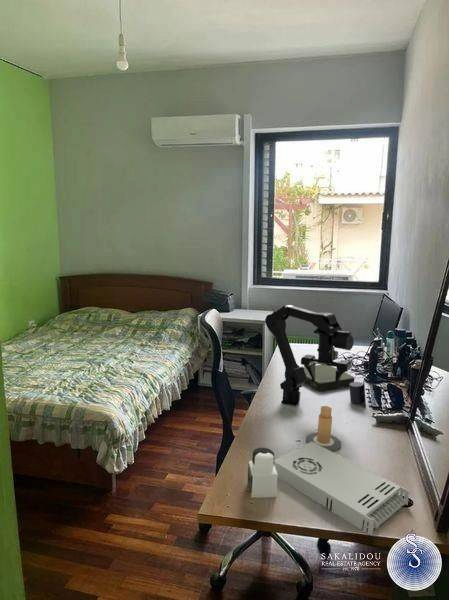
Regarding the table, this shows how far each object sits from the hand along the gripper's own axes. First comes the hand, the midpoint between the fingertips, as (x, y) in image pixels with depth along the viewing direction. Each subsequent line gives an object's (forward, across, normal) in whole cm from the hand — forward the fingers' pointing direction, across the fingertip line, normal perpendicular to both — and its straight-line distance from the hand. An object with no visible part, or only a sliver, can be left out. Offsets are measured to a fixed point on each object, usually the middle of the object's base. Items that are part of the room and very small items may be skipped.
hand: (325, 383), depth 167 cm
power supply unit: (+14, -20, +45) cm, 51 cm away
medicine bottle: (+12, -3, +58) cm, 60 cm away
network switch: (+13, +14, -34) cm, 39 cm away
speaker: (+14, -7, -19) cm, 24 cm away
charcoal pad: (+13, -8, +22) cm, 27 cm away
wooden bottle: (+12, -8, +22) cm, 26 cm away
